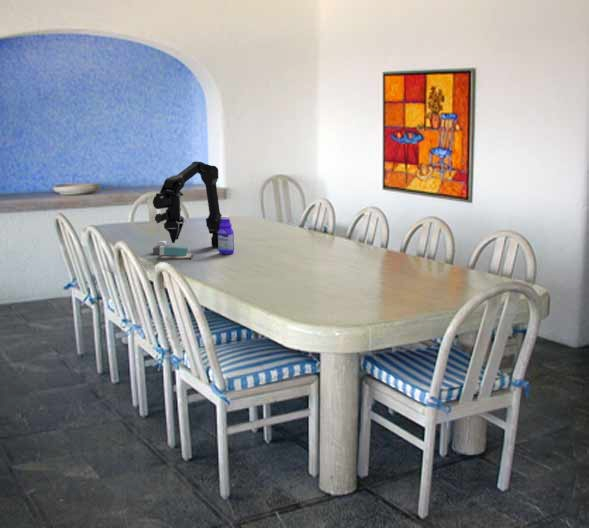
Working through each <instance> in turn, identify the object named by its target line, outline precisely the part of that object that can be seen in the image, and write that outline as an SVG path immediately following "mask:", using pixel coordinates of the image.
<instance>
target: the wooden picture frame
mask: <svg viewBox="0 0 589 528" xmlns="http://www.w3.org/2000/svg"><path fill="white" fill-rule="evenodd" d="M157 255H158V257H157V258H156V260H192V259H193V257H194V256H195V253H194V252H193V253H191V252H189V253H188V252H187V256H176V255H160V254H157Z"/></svg>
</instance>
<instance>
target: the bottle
mask: <svg viewBox="0 0 589 528" xmlns="http://www.w3.org/2000/svg"><path fill="white" fill-rule="evenodd" d="M230 219H231V218H230V216H229V215H222V216H221V223H220V225H219V227H220V229H219V231H218V247H217V248H218V253H219V254H221V255H232V254H234V251H235V241H234V240H235V239H234V238H235V235H234V234H235V233H234V229H233V228H232V225H233V224H232V223H231V220H230Z"/></svg>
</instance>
